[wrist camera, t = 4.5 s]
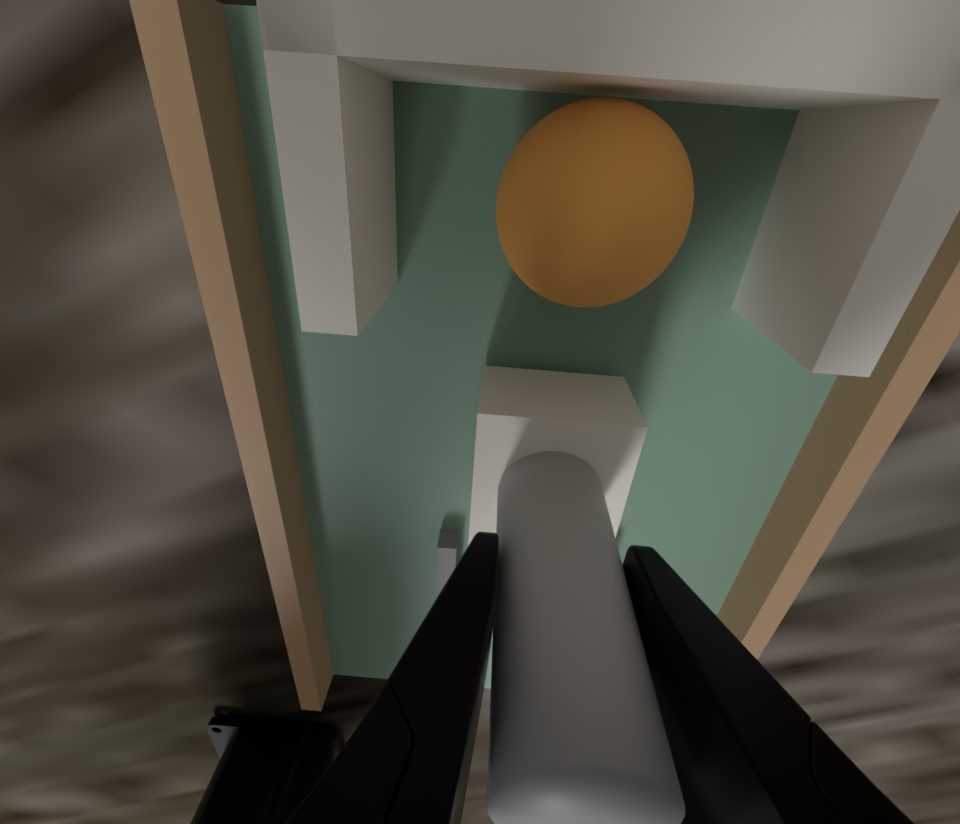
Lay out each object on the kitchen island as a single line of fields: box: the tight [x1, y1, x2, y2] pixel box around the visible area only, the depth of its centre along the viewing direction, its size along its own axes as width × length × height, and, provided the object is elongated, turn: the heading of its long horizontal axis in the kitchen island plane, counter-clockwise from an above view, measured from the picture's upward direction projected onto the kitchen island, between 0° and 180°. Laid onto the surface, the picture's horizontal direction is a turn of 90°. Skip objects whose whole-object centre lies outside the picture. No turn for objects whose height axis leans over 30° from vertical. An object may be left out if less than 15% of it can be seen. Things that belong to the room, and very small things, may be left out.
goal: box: [256, 0, 960, 377], centre depth 9 cm, size 5×10×4 cm, turn 86°
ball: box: [496, 97, 694, 308], centre depth 9 cm, size 4×4×4 cm
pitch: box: [129, 0, 960, 711], centre depth 14 cm, size 22×16×2 cm
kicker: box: [468, 365, 686, 824], centre depth 9 cm, size 4×4×8 cm
